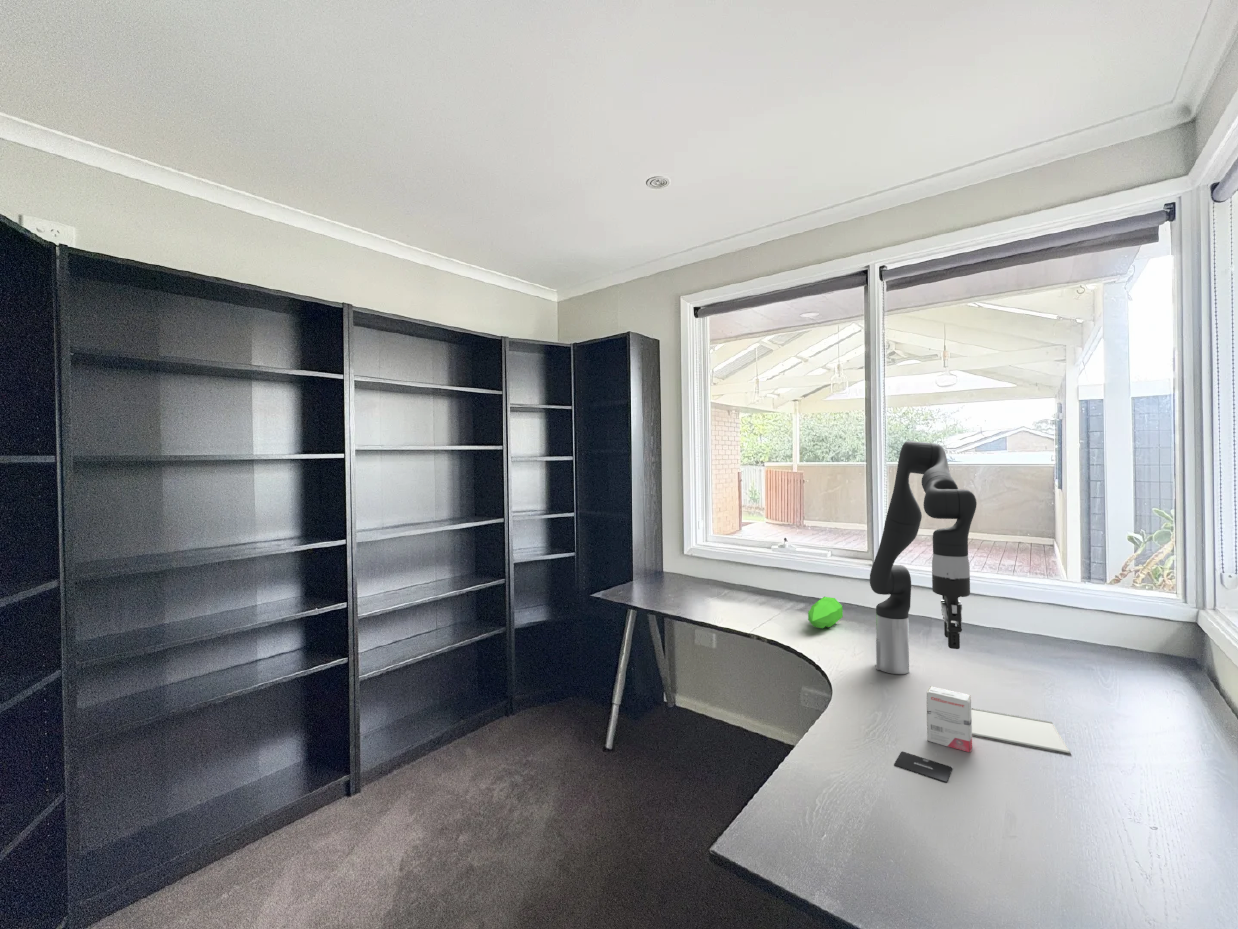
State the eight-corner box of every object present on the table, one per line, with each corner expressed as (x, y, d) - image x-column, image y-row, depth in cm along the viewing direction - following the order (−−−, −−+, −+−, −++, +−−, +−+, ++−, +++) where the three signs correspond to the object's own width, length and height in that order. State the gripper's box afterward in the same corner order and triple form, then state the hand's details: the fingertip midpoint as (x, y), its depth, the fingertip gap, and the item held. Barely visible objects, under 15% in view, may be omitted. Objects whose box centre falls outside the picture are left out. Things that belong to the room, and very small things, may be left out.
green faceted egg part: (841, 590, 222) (820, 603, 198) (852, 617, 219) (832, 633, 195) (815, 597, 228) (792, 610, 204) (826, 623, 225) (803, 639, 201)
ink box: (973, 745, 122) (972, 694, 122) (970, 754, 118) (969, 701, 118) (930, 733, 127) (929, 684, 127) (926, 741, 124) (926, 691, 124)
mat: (945, 731, 128) (945, 728, 128) (940, 704, 142) (940, 702, 142) (1070, 755, 117) (1070, 753, 117) (1051, 723, 131) (1051, 721, 131)
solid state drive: (901, 754, 119) (901, 751, 119) (952, 770, 112) (952, 767, 112) (893, 767, 114) (893, 764, 114) (947, 785, 107) (947, 782, 107)
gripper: (929, 567, 131) (931, 632, 131) (934, 578, 118) (935, 649, 118) (965, 569, 128) (966, 636, 127) (974, 581, 115) (975, 654, 115)
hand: (951, 642), depth 123 cm, fingers open, 8 cm apart
